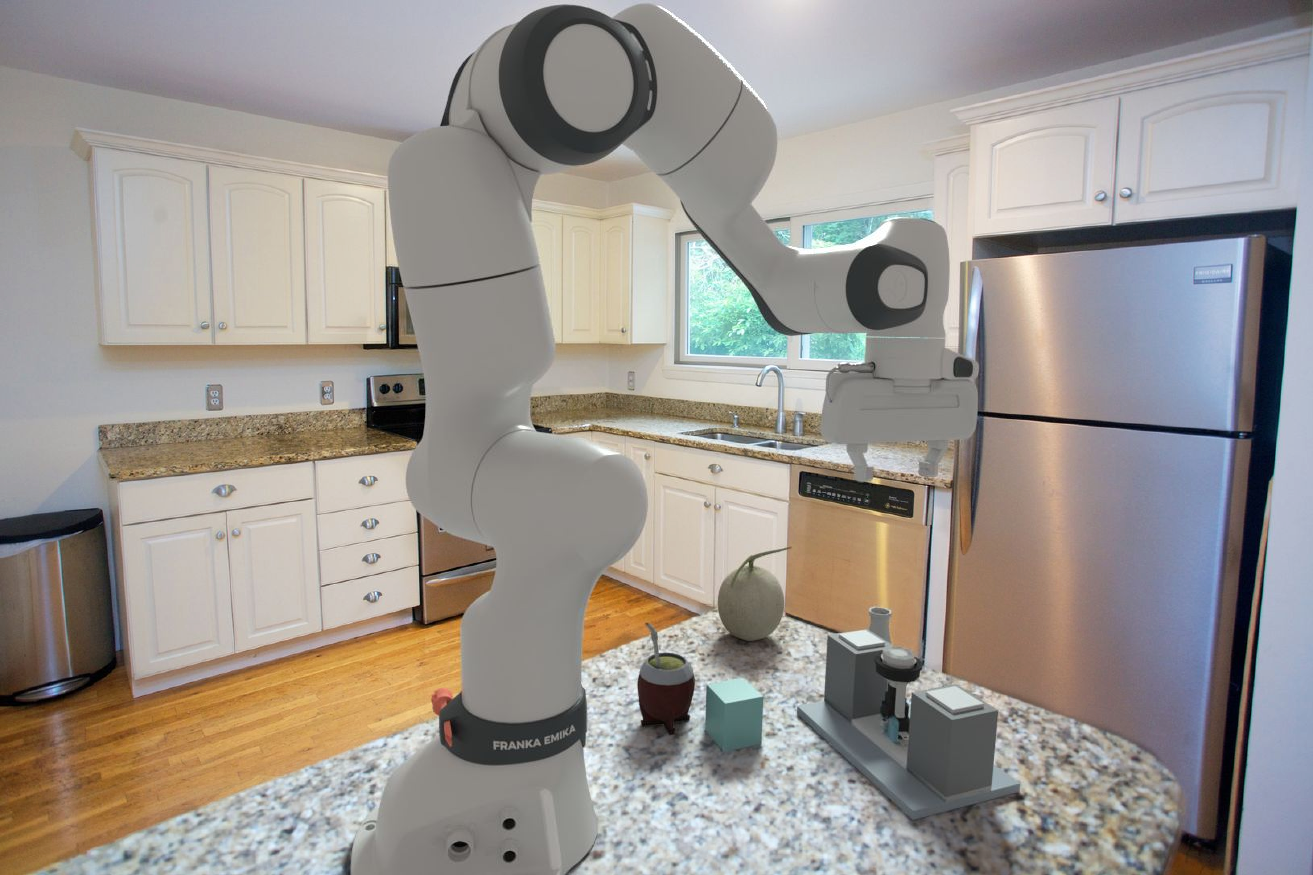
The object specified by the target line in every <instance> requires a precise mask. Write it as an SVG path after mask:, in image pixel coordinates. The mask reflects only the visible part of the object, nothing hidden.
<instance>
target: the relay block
mask: <svg viewBox="0 0 1313 875" xmlns="http://www.w3.org/2000/svg"><path fill="white" fill-rule="evenodd" d="M705 686H706V688H705V690H706V692H705V693H706V694H705V719H704V720H705V721H704V722H705V723H704V731H705V732H706V733H707V734H708V735H709V736H710V738H711V739H712V740H713V741H714V742H715V743H716V745H717V746H718V747H719V748H720V749H721V751H722V752H728V751H729V752H730V751H734V750H738V749H744V748H747V747H753V746H757V745H761V744H762V741H763V740H762V739H763V737H762V736H763V716H764V714H763V712H764V695H762V694H761V693H760V692H759V691H758V690H757V689H756V688H755V687H754V686H753V685H752V684H751V683H750V682H749V681H747V680H746V678H743V677H739V678H734V679H728V680H722V681H717V682H716V681H715V682H710V683H706V685H705Z"/></svg>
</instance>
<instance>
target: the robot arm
mask: <svg viewBox="0 0 1313 875" xmlns="http://www.w3.org/2000/svg"><path fill="white" fill-rule="evenodd" d="M448 92H449V93H448V97H447V101H446V104H445V108H444V111H443V115H442V117H441V118H442V119H441V121H440V124H439V126H434V127H431V128H427V129H423V130H421V131H419V132H417V133H414V134H413V135H412V136H410V137H407V139H405V140H404V141H403V142H402V143H400V144H399V145H398V146H397V147H396V148H395V150H394V151H393V153H392V154H391V156H390V159H389V162H388V166H387V190H388V192H387V193H388V205H389V206H388V207H389V215H390V216H389V217H390V226H391V232H392V238H393V244H394V250H395V254H396V262H397V265H398V270H399V275H400V279H401V283H402V286H403V292H404V295H405V300H406V303H407V304H406V305H407V308H408V311H409V315H410V319H411V324H412V327H413V328H412V329H413V331H414V332H413V333H414V336H415V340H416V341H415V342H416V344H417V349H418V354H419V357H420V361H421V362H420V363H421V366H422V373H423V378H424V380H423V381H424V389H425V390H424V392H425V415H424V416H425V418H424V426H423V427H424V428H423V433H422V434H423V435H422V438H421V439H420V441H419V443H418V444H417V445H416V447H415V448H414V450H413V451H412V453H411V455H410V457H409V460H408V463H407V466H406V470H405V471H406V472H405V487H406V493H407V496H408V499H409V501H410V503H411V505H412V507H413V508H414V509H415V510H416V511H417V513H419V514H420V515H421V516H423V517H424V518H425V519H427V520H428V521H430V522H431V523H432V524H434V525H435V526H437V528H440V529H441V530H443V531H445V532H446V533H448V534H449V535H451V536H454V537H456V538H457V537H458V538H461V539H465V540H468V541H471V542H474V543H478V544H482V545H486V546H489V547H492V548H493V550H494V552H495V558H496V565H495V572H494V577H493V581H492V584H491V588H490V589H489V590H488V591H486V592H485V593H483V594H482V595H480V596H479V597H477V598H476V599H475V600H474V601H473V602H472V603H471V604H470V605H469V606H468V607H467V608H466V610H465V612H463V615H462V618H461V622H460V626H459V630H460V673H461V674H460V676H461V682H460V683H461V690H460V691H459V692H458V694H457V695H456V696H454V695H453V691H451V690H450V689H449V688H448V687H440V688H437V689H436V690H434V693H432V695H431V699H430V700H431V705H432V712H433V713H434V714H436V715H437V716H438V733H439V734H438V735H436V736H435V737H434V738H433V739H431V740H430V741H429V742H428V743H426V744H425V745H424V746H423V747H421V748H420V749H419V750H417V752H415V753H414V754H412V755H411V756H410V757H408V759H406V760H405V761H403V762H402V763H400V764H399V765H398V766H397V767H396V768H394V770H393V771H392V772H391V773H390V776H389V777H388V779H387V782H386V784H385V786H384V789H383V792H382V795H381V798H380V802H379V806H378V807H376V808H374V809H373V810H372V811H370V812H369V814H368V815H367V816H366V817H365V818H364V820H363V821H362V822H361V824H360V826H359V827H358V829H357V832H356V833H355V837H354V839H353V844H352V850H351V857H350V858H351V859H350V868H349V870H350V871H349V872H350V874H349V875H566V874H567V873H568V872H569V870H571V869H572V868H573V867H574V866H575V865H577V864H578V863H579V862H580V861H581V860H582V859H583V858H584V857H585V856H586V855H587V854H588V853H589V851H590V850H591V849H592V847H593V845H594V843H595V841H596V838H597V834H598V832H599V831H598V830H599V820H598V817H597V813H596V811H595V807H594V804H593V801H592V797H591V793H590V789H589V782H588V777H587V770H586V763H585V762H586V761H585V752H584V751H585V750H584V748H585V746H586V744H587V742H586V741H587V733H588V700H587V693H586V689H585V687H583V684H582V677H583V676H582V668H583V667H582V666H583V664H582V663H583V641H584V624H585V616H586V611H587V608H588V603H589V601H590V598H591V595H592V593H593V590H594V588H595V586H596V584H597V583H598V581H599V579H600V578H601V577H602V575H603V574H604V573H605V571H607V570H608V568H610V567H612V566H613V565H614V564H616V563H618V562H619V561H621V560H622V559H623V558H624V557H625V556H626V555H628V553H629V552H630V551H631V550H632V549H633V547H634V546H635V545H636V543H637V541H638V540H639V538H640V536H641V534H642V533H643V531H644V527H645V524H646V520H647V517H648V510H649V498H648V489H647V485H646V482H645V479H644V477H643V474H642V472H641V470H640V468H639V466H638V464H636V462H635V461H634V459H631V458H630V457H629V456H627V455H625V454H623V453H621V452H619V451H617V450H614V449H612V448H610V447H608V446H606V445H602V444H601V443H598V442H595V441H593V440H591V439H588V438H585V437H578V436H572V435H571V436H570V435H564V434H557V433H556V434H555V433H549V432H542V431H541V432H540V431H537V430H536V429H535V427H534V425H533V422H532V419H531V398H532V397H531V396H532V393H533V386H534V384H536V383H537V382H538V381H539V380H540V379H542V378H543V377H544V376H545V374H546V373H547V372H548V371H549V370H550V368H551V367H552V364H553V363H554V361H555V357H556V349H557V348H556V339H555V335H554V330H553V325H552V319H551V312H550V309H549V304H548V297H547V293H546V288H545V283H544V276H543V271H542V266H541V264H540V263H541V262H540V257H539V253H538V247H537V243H536V238H535V234H534V231H533V227H532V223H533V218H532V214H533V213H532V210H533V209H532V207H533V198H534V192H535V189H536V185H537V184H538V182H539V179H540V178H541V176H542V175H553V174H557V173H558V174H559V173H563V172H566V171H569V170H572V169H574V168H577V167H579V166H585V165H589V164H593V163H595V162H599V161H600V160H602V159H603V158H605V157H607V156H609V154H611V153H613V152H614V151H615V150H617V149H618V148H619V147H620V146H621V145H623V146H625V147H626V148H627V149H629V150H630V151H633V153H634V154H636V155H637V157H638V158H639V159H640V160H641V161H642V162H643V163H644V164H645V165H646V166H647V167H648V168H649V169H650V170H651V171H652V172H653V173H654V174H656V176H657V177H659V178H660V179H661V180H662V181H663V182H664V183H665V184H666V185H667V187H669V188H670V190H672V192H673V193H674V194H675V195H676V196H677V197H678V198H679V200H680V205H681V207H682V209H683V212H684V214H685V216H686V217H687V219H688V221H690V223H691V224H692V225H693V226H694V228H695V229H696V231H697V232H698V233H699V234H700V235H701V237H702V238H703V239H704V240H705V241H706V242H707V244H709V246H710V247H711V248H712V250H714V252H715V253H716V254H718V256H719V257H720V258H721V259H722V260H723V262H725V264H726V265H727V266H728V267H729V268H730V269H731V271H732V272H733V273H735V275H736V276H737V277H738V278H739V279H740V280H741V282H742V283H743V284H744V285H745V287H746V289H747V290H748V291H749V293H750V294H751V297H752V298H753V300H754V302H755V304H756V307H757V309H758V310H759V312H760V314H761V316H762V318H763V319H764V321H765V322H766V324H768V326H770V328H772V330H774V331H775V332H776V333H779V334H781V335H784V336H790V337H793V336H795V337H796V336H805V335H812V334H865V346H864V347H865V350H864V362H856V363H850V362H839V363H838V364H837V366H834V367H833V368H832V369H831V370H830V371H829V372H828V373H827V375H826V378H825V396H824V399H823V403H822V409H821V410H822V411H821V417H820V424H819V425H820V426H819V433H820V435H821V436H822V438H823V440H824V441H825V442H827V443H831V444H834V445H835V444H836V445H846V452H847V454H848V456H849V459H850V460H851V462H852V465H853V466H854V467H853V479H854V480H855V481H857V482H871V481H873V480H874V469H875V467H874V466H873V465H868V463H867V460H866V457H865V455H864V454H865V453H867V452H868V445H869V444H881V443H882V444H886V443H905V442H906V443H907V442H908V443H909V442H910V443H911V442H926V447H929V449H928V451H927V452H926V453H927V454H926V456H925V457H924V460H919V461H918V475H919V477H924V478H936V477H937V476H938V474H939V463H941V461H942V459H943V457H944V456H945V454H946V453H947V451H948V450H949V441H953V440H969V439H970V438H971V436H973V434H974V432H975V431H976V428H977V420H978V408H979V406H978V405H979V392H978V388H977V386H976V384H975V382H974V381H973V380H975V379H977V378H978V375H979V373H980V372H979V371H980V364H979V362H978V361H976V359H975V360H974V359H972V358H970V357H967V356H965V355H963V354H961V353H958V352H956V351H954V350H952V349H950V348H947V347H946V330H945V326H944V315H945V310H946V307H947V306H948V302H949V292H950V267H951V266H950V249H949V241H948V236H947V233H946V230H945V228H944V227H943V226H942V224H941V225H940V224H939V223H937V222H936V221H934V220H932V219H928V218H925V217H912V216H897V217H896V216H895V217H892V218H891V217H890V218H888V219H885V220H883V221H881V223H879V225H878V228H877V229H876V230H875V231H874V232H873V233H871V234H869V235H867V236H865V237H864V238H862V239H860V240H857V241H854V242H853V243H852V244H851V243H850V244H844V245H843V244H842V245H837V246H830V247H829V246H828V247H823V248H822V247H821V248H815V249H814V248H813V249H810V248H808V249H807V248H798V247H793V246H790V245H788V244H785V243H784V242H782V241H781V240H780V239H779V237H778V236H777V235H776V234H775V232H774V231H773V229H771V227H770V226H769V224H768V223H767V222H766V220H764V218H763V216H761V214H760V213H759V211H757V209H756V208H755V206H753V204H752V203H753V202H754V200H755V199H756V198H757V196H758V195H759V194H760V192H761V191H762V189H763V188H764V186H765V185H766V182H767V181H768V178H769V177H770V175H771V173H772V170H773V167H774V166H775V161H776V158H777V151H778V130H777V125H776V123H775V121H774V119H773V116H772V115H771V113H770V111H769V109H768V107H767V105H766V104H765V103H764V101H763V100H762V98H761V97H760V96H759V94H757V93H756V92H755V90H754V89H753V88H752V87H751V86H750V84H749V83H747V82H746V80H745V79H744V78H743V76H741V75H740V74H739V72H738V71H737V70H736V69H735V68H734V67H733V66H732V65H731V63H729V62H728V60H726V59H725V58H724V57H723V56H722V55H721V53H719V52H718V51H717V49H715V48H714V47H713V46H712V45H711V44H710V43H709V42H708V41H706V40H705V39H704V38H703V37H702V36H701V35H700V34H698V33H697V32H696V31H695V30H693V29H692V28H691V27H690V26H689V25H687V24H686V23H685V22H684V21H682V20H681V19H679V17H677V16H675V15H674V14H673V13H671V12H670V11H669V10H667V9H665V8H663V7H662V6H659V5H658V4H657V5H656V4H654V3H649V2H647V3H639V4H638V3H637V4H634V5H632V6H629V7H627V8H625V9H623V10H621V11H620V12H618V13H616V15H614V16H613V17H610V16H609V15H607V14H605V13H603V12H602V11H599V10H596V9H593V8H590V7H588V6H587V7H586V6H582V5H577V4H555V5H548V6H545V7H541V8H539V9H536V10H533V11H532V12H530V13H528V14H526V16H524V17H523V18H522V19H521V20H519V21H517V22H515V23H512V24H509V25H506V26H504V27H502V28H500V29H498V30H496V31H495V32H494V33H492V34H491V35H490V36H488V37H487V39H485V40H484V41H483V42H482V43H481V44H480V45H479V46H478V48H477V49H476V50H475V51H474V52H472V53H471V54H469V56H468V57H466V58H465V60H463V62H462V64H460V66H459V68H458V69H457V71H456V73H455V75H454V77H453V78H452V82H451V85H450V89H449V91H448Z"/></svg>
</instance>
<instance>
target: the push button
mask: <svg viewBox="0 0 1313 875" xmlns="http://www.w3.org/2000/svg"><path fill="white" fill-rule="evenodd" d="M874 662H875V664H876V672H877V673H878V674H880V675H881V676H882V677H883V678H884V679H886V680H887V692H885V701H882V703H881V707H880V731H881V733H882V734H883V730H885V732H886V733H887V735H888V736H889V738H890V740H891V741H892V743H901V745H902V746H903V748H908V738H909V736H908V735H909V724H910V718H909V717H908V714H909V705H910V704H909V703H908V702H907V698H906V695H907V686H908V685H909V684H910V683H912V682H915V681H917V679H919V678H920V677H921V671H922V670H923V667H924V666H923V662H922V660H921V659H920V658H918V657H916V654H915V652H914V651H912V650H910V649H909V648H907V647H902V646H895V645H893V646H890V647H886V648H884V649H883V652H880V653H877V654H876V655H875V657H874ZM908 704H909V705H908ZM881 726H882V729H881ZM904 744H905V745H907V746H905V745H904Z"/></svg>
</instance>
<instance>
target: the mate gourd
mask: <svg viewBox="0 0 1313 875" xmlns="http://www.w3.org/2000/svg"><path fill="white" fill-rule="evenodd" d="M644 625H645V626H646V627H647V628H648V629H649V631H650V637H651V641H652V644H653V651H654V654H651V655H649V656H648V657H647V658H646V659H645V660H644V661H643V663H642V664H641V666H640V669H639V674H638V677H637V682H636V683H637V687H636V688H637V695H638V706H639V711H640V713H641V717H642V719H640V725H641V727H650V726H657V725H658V726H659V725H661V726H662V725H663V726H664V728H665V730H666V733H667V734H668V736H675V735H676V729H675V727H674V725H675V723H680V722H681V723H682V722H688V721H690V718H691V715H690V714H689V711H690V708H691V705H692V701H693V697H694V693H695V686H696V679H695V674H694V669H693V666H692V665H691V664H690V662H689V661H688V659H687V658H686V657H684V656H683V655H681V654H678V653H674V652H664V651H663V652H659V651H660V649H659V645H658V644H659V643H658V640H659V636H658V631H656V629H655V626H653V625H652V624H650V623H649V622H645V623H644Z"/></svg>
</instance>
